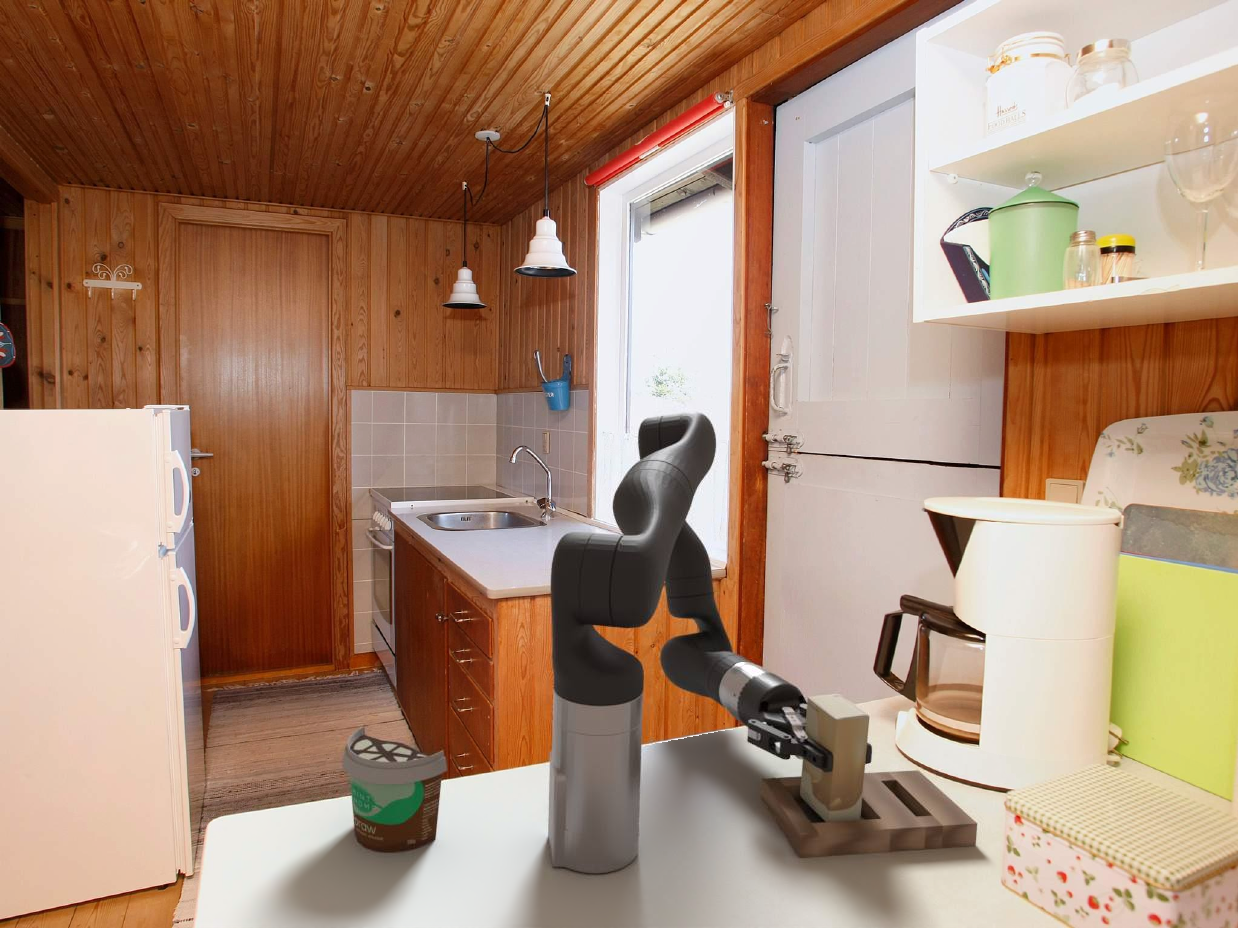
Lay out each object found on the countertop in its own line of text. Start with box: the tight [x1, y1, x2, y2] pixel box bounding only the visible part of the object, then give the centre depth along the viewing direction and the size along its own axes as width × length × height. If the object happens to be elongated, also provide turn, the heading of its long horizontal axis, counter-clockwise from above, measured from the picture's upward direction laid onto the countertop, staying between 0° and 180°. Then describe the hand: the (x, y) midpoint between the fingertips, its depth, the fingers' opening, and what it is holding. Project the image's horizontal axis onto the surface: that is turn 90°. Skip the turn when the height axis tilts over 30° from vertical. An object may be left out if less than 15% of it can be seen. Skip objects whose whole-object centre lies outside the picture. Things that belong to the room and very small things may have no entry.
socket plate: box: [760, 769, 978, 859], centre depth 90 cm, size 20×12×2 cm, turn 99°
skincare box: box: [800, 692, 870, 822], centre depth 89 cm, size 6×4×12 cm
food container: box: [341, 726, 448, 854], centre depth 83 cm, size 12×6×10 cm, turn 62°
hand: (849, 759), depth 86 cm, fingers closed on skincare box, 4 cm apart
